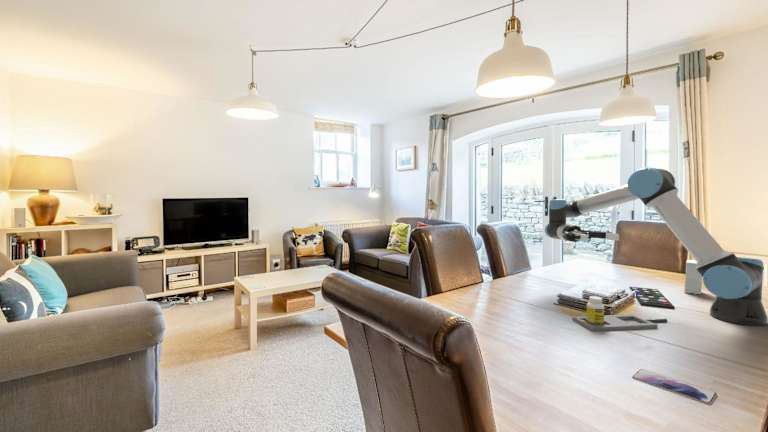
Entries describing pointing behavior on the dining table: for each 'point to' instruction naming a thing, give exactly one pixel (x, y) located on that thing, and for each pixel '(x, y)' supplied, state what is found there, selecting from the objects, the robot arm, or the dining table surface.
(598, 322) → the supplement bottle
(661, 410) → the dining table surface
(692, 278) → the skincare box
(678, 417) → the dining table surface
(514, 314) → the dining table surface
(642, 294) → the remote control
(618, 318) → the socket strip
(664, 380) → the smartphone
